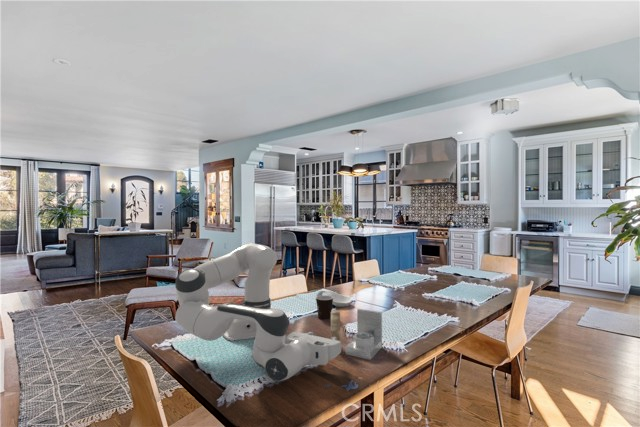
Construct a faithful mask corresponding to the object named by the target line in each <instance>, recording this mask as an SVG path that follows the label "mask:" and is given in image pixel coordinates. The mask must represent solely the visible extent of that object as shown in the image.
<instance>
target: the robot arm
mask: <svg viewBox="0 0 640 427" xmlns="http://www.w3.org/2000/svg"><path fill="white" fill-rule="evenodd" d="M277 261H278V256H277V253H276V252H275V250H274V249H272V248H271V247H269V246H267V245H265V244H258V243H255V242H250V243H245V244H243V245H242V246H241V247H238V248H237V249H235V250H233V251H231V252H229V253H227V254H224V255H222V256H218V257H215V258H213V259H210V260H207V261H206V262H204V263H201V264H200V265H198V266H195V267H194V268H188V269H184V270H183V271H181V272H180V273H178V275H177V276H176V278H175V283H174V284H175V286H174V287H175V289H176V296H177V300H178V303H179V307H178V308H177V310H176V312H175V322H176V324H177V325H178V326H179V327H180V328H181V329H183V330H184V331H186V332H187V333H189V334H191V335H193V336H195V337H197V338H199V339H201V340H203V341H208V342H211V341H216V340H218V339H220V338H221V337H224V339H226V340H227V341H232V342H235V341H241V340H247V339H248V340H249V339H254V341H253V347H252V352H251V353H252V355H251V358H252V359H253V361H254V362H255V364H256V365H258V366H259V367H260V368H261V369H263V370H264V371H265V373H266V375H267V377H268V378H269V379H271V380H272V381H275V382H282V381H286V380H288V379H290V378H292V377H293V376H294V375H296V374H297V373H299V372H300V371H301V370H302V369H303V368H305V367H306V366H313V365H314V366H315V365H316V366H325V365H328V363H329V361H331V360H334V359H335V358H336V357H337V356H339V355H340V354H341V352H342V342H341V340H340V341H337V338H336V337H333V336H332V337H331V336H330V338H327V337H323V336H318V335H315V332H313V331H309V332H305V333H303V332H299V331H292V332H291V333H289V334H288V335H287V333H288V330H289V326H290V319H289V317H288V315H287V314H286V313H285V312H284V311H283V310H281V309H277V308H271V306H272V302H271V297H270V281H271V277H272V272H273V271H272V270H273V269H274V267H275V266H276V264H277ZM246 271H248V272H247V277H246V279H245V280H244V299H243V300H241V299H238V300H236V303H235V302H224V303H221V304H219V305H218V306H213V305H211V303H210V295H209V294H210V292H209V289H211V288H215V287H217V286H220V285H223V284H225V283H228V282H230V281H232V280H235V279H237V278H239V277H240V275H242V274H243V273H245V272H246ZM234 340H235V341H234Z"/></svg>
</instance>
